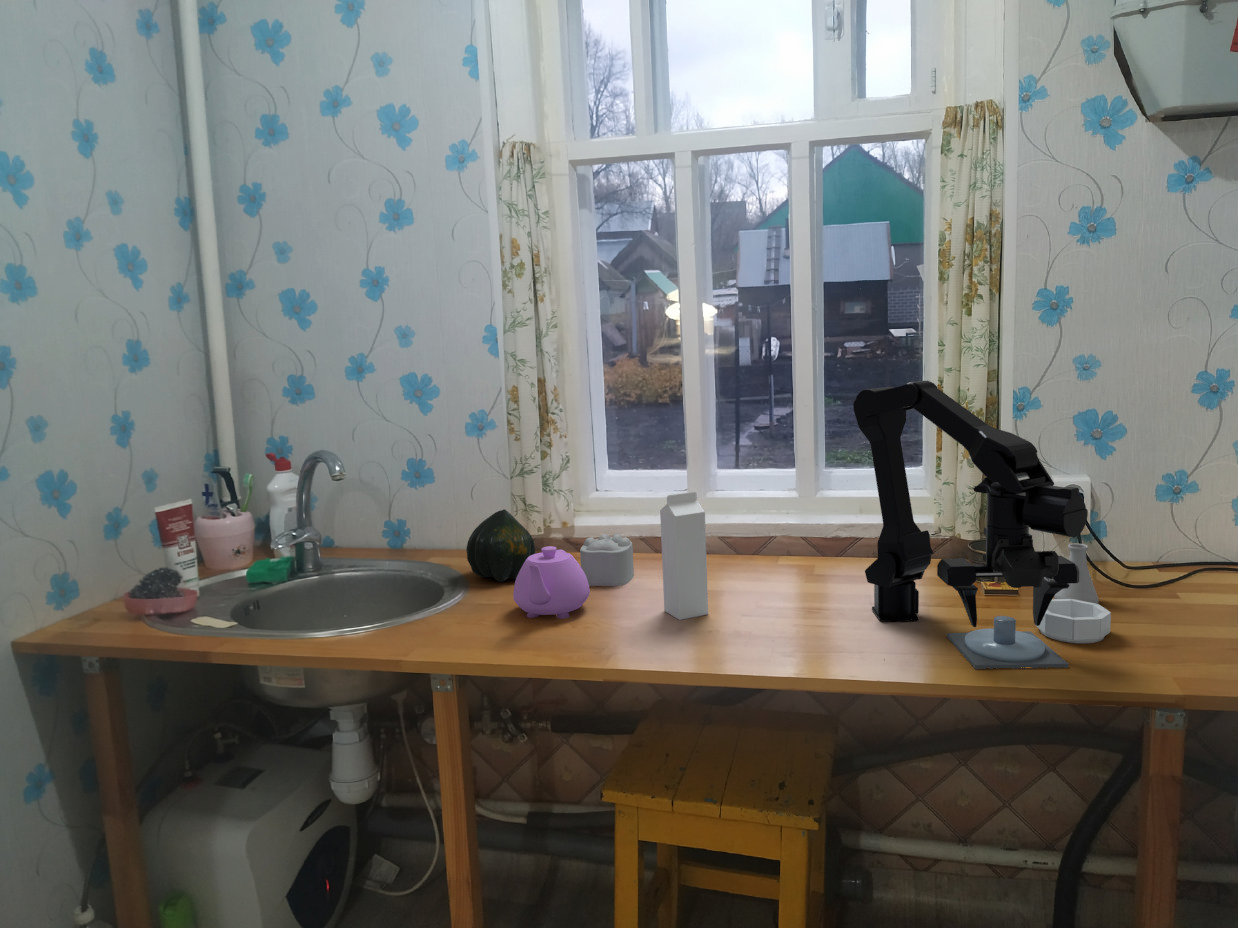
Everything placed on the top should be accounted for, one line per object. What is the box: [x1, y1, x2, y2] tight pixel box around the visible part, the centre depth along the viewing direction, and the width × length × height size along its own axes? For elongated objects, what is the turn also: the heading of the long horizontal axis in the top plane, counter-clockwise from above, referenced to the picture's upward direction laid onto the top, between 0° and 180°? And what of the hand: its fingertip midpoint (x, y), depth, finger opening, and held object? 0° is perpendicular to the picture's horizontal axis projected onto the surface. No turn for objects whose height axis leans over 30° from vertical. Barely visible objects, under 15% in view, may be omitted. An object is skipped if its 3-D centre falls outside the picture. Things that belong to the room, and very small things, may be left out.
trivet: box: [946, 630, 1070, 670], centre depth 126 cm, size 13×13×1 cm
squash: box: [466, 509, 536, 583], centre depth 178 cm, size 14×15×15 cm
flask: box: [1053, 542, 1100, 604], centre depth 146 cm, size 7×7×10 cm
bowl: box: [1036, 598, 1112, 645], centre depth 131 cm, size 10×10×4 cm
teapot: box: [512, 545, 591, 620], centre depth 153 cm, size 20×14×12 cm
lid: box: [965, 615, 1046, 662], centre depth 125 cm, size 11×11×4 cm
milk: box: [659, 491, 709, 621], centre depth 148 cm, size 6×6×22 cm
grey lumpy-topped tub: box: [579, 533, 635, 587], centre depth 174 cm, size 10×13×9 cm
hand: (1005, 625), depth 125 cm, fingers open, 9 cm apart
